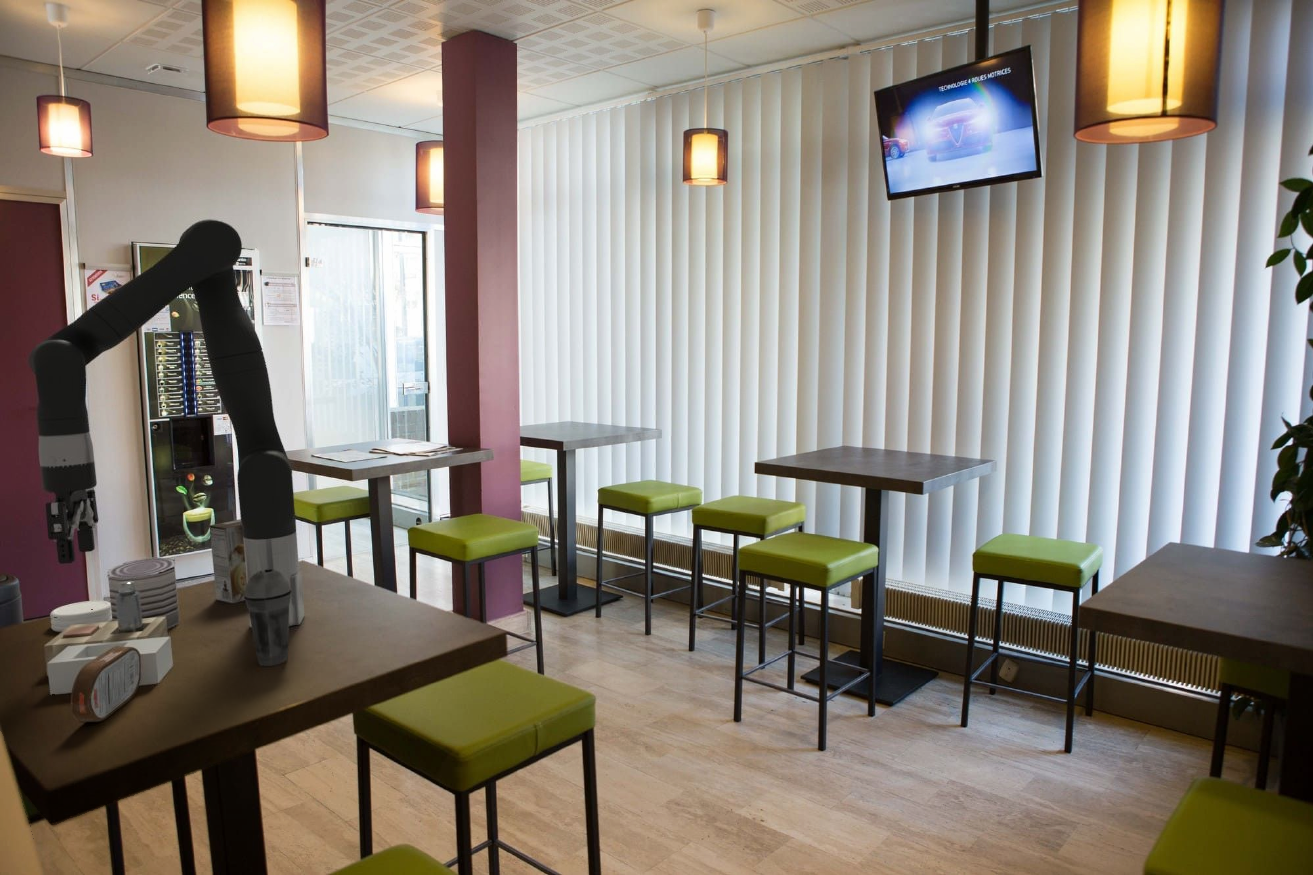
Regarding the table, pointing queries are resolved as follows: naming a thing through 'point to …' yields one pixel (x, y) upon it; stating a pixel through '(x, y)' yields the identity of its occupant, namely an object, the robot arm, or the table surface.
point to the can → (148, 587)
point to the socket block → (105, 635)
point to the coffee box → (228, 561)
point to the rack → (75, 657)
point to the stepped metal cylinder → (128, 608)
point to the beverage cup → (269, 614)
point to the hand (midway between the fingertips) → (77, 556)
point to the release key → (81, 631)
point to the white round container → (80, 614)
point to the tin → (106, 684)
